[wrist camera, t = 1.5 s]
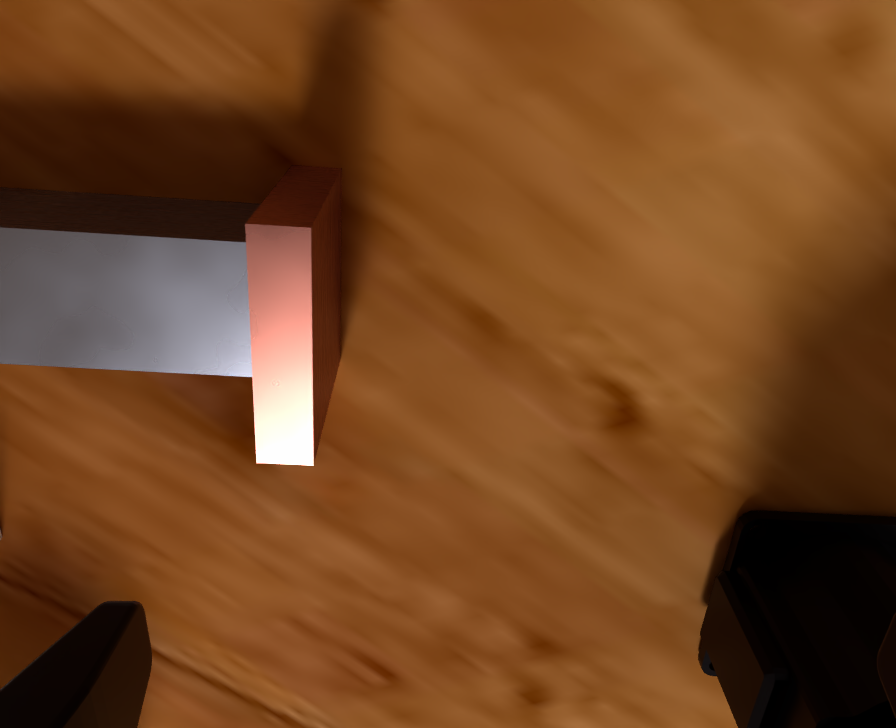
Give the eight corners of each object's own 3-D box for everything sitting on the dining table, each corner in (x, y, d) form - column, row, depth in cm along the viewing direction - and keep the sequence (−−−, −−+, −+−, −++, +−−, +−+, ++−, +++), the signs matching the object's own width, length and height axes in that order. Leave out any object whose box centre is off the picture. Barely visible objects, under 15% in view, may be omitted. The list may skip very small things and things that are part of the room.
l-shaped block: (341, 168, 19) (311, 227, 14) (340, 359, 21) (313, 465, 16) (-45, 142, 18) (-209, 195, 14) (-4, 340, 21) (-132, 443, 16)
